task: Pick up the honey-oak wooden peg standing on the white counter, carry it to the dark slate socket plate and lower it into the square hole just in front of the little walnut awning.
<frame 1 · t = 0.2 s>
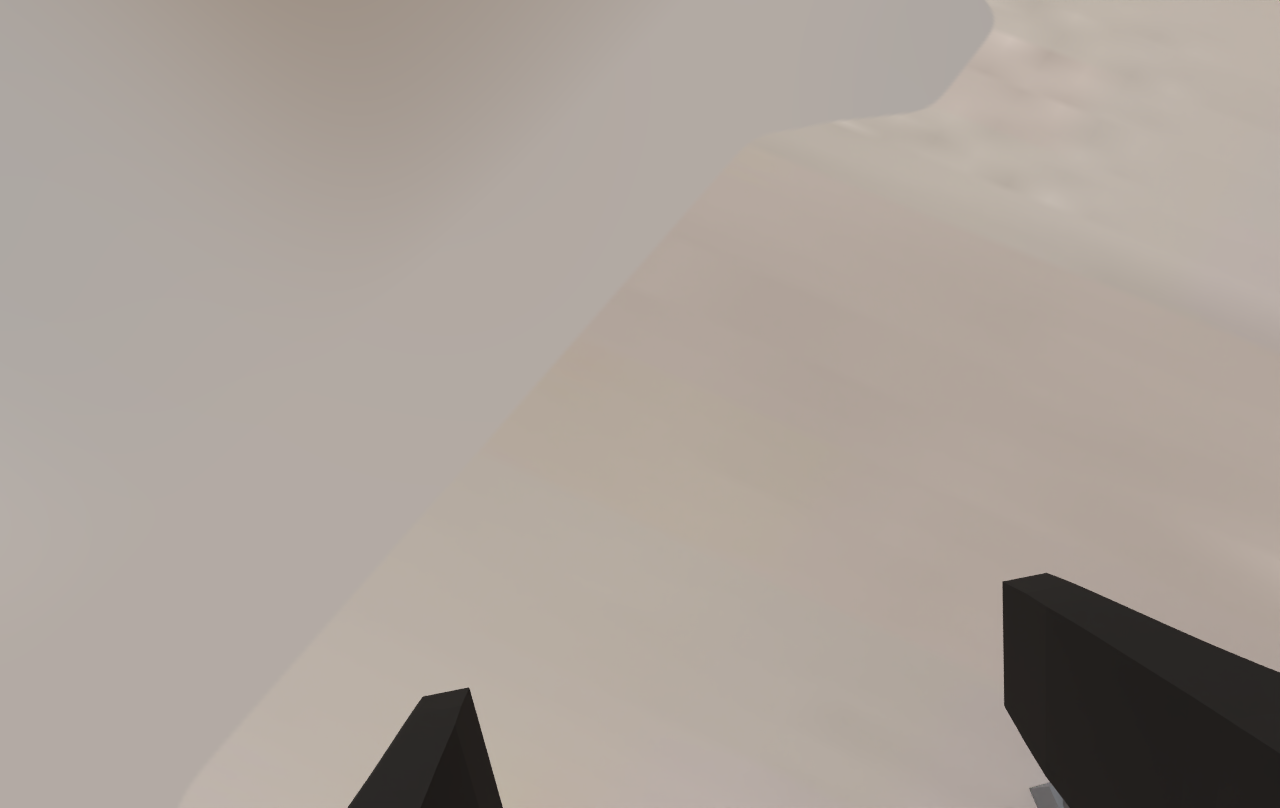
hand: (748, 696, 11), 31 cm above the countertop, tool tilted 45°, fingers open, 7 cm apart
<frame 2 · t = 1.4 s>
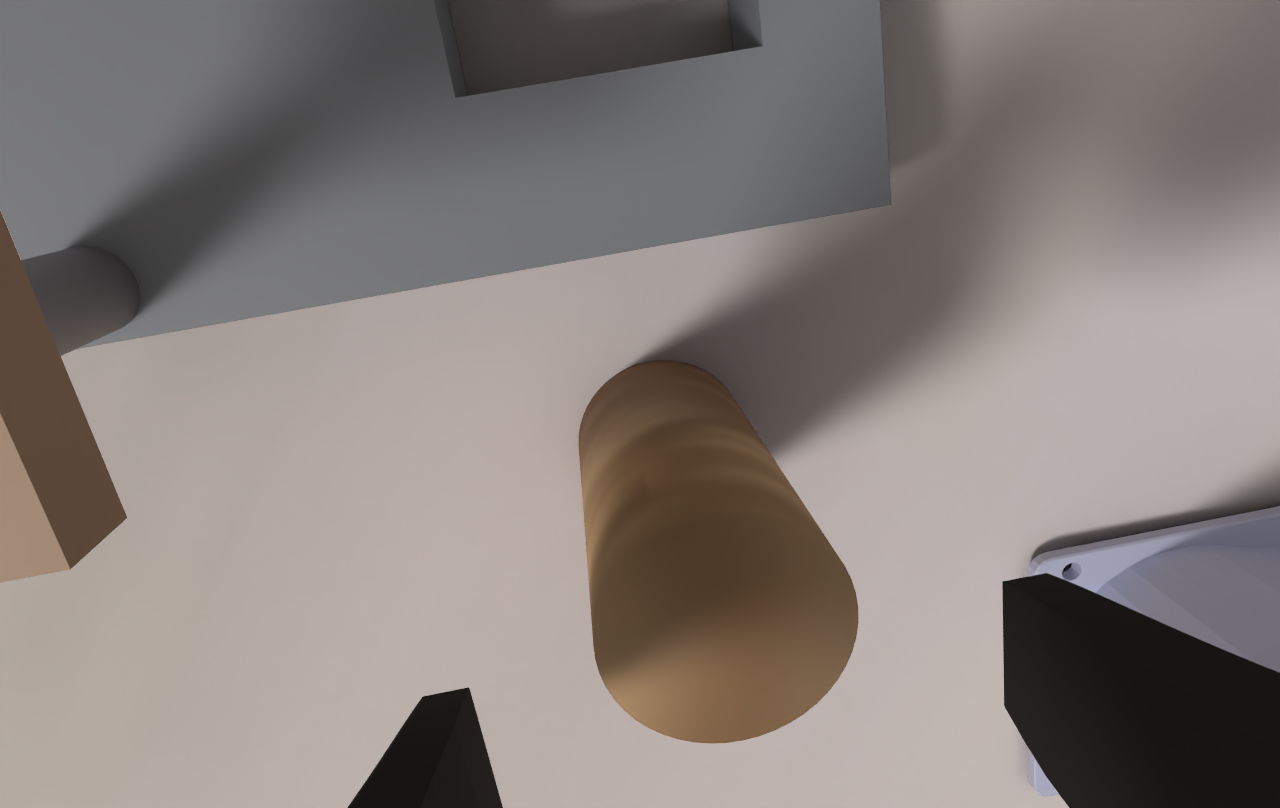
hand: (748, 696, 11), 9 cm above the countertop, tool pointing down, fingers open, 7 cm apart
peg: (661, 440, 20), on the countertop
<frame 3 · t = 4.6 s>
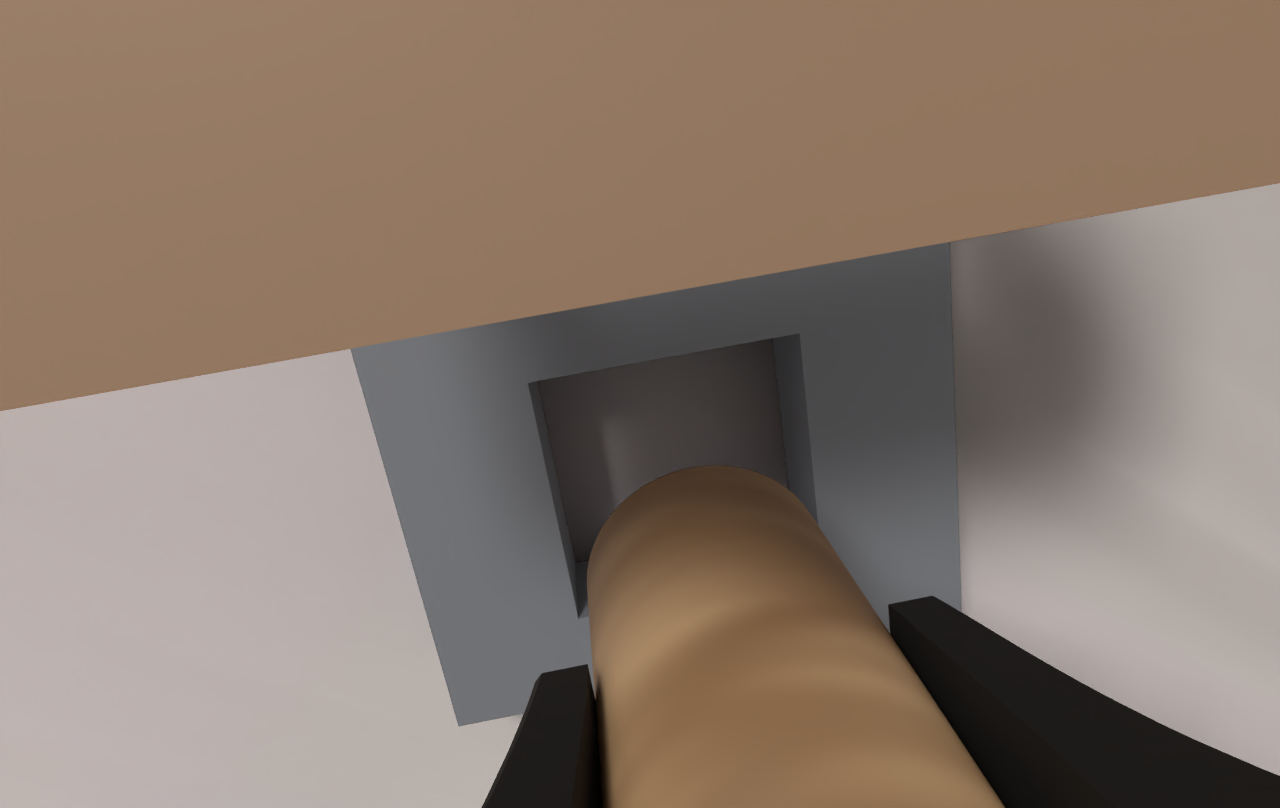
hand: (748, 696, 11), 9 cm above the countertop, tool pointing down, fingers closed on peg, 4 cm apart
peg: (707, 576, 14), point 7 cm above the countertop, touching gripper
socket plate: (649, 321, 19), on the countertop
when the fingers open (4 cm above the countertop, at t = 6.4 s): peg stays where it is, resting in socket plate.
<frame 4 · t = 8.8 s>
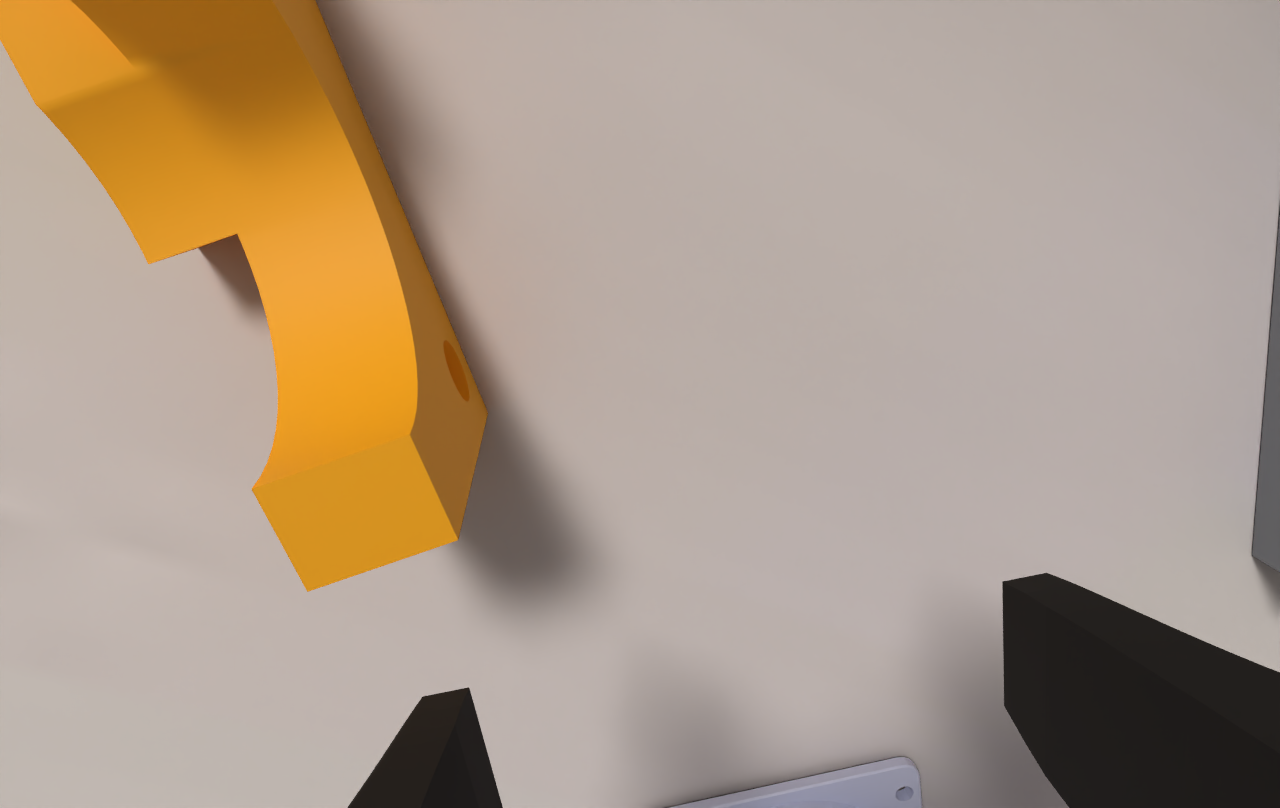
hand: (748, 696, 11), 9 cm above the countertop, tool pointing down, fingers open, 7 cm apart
pipe clamp: (290, 191, 18), on the countertop
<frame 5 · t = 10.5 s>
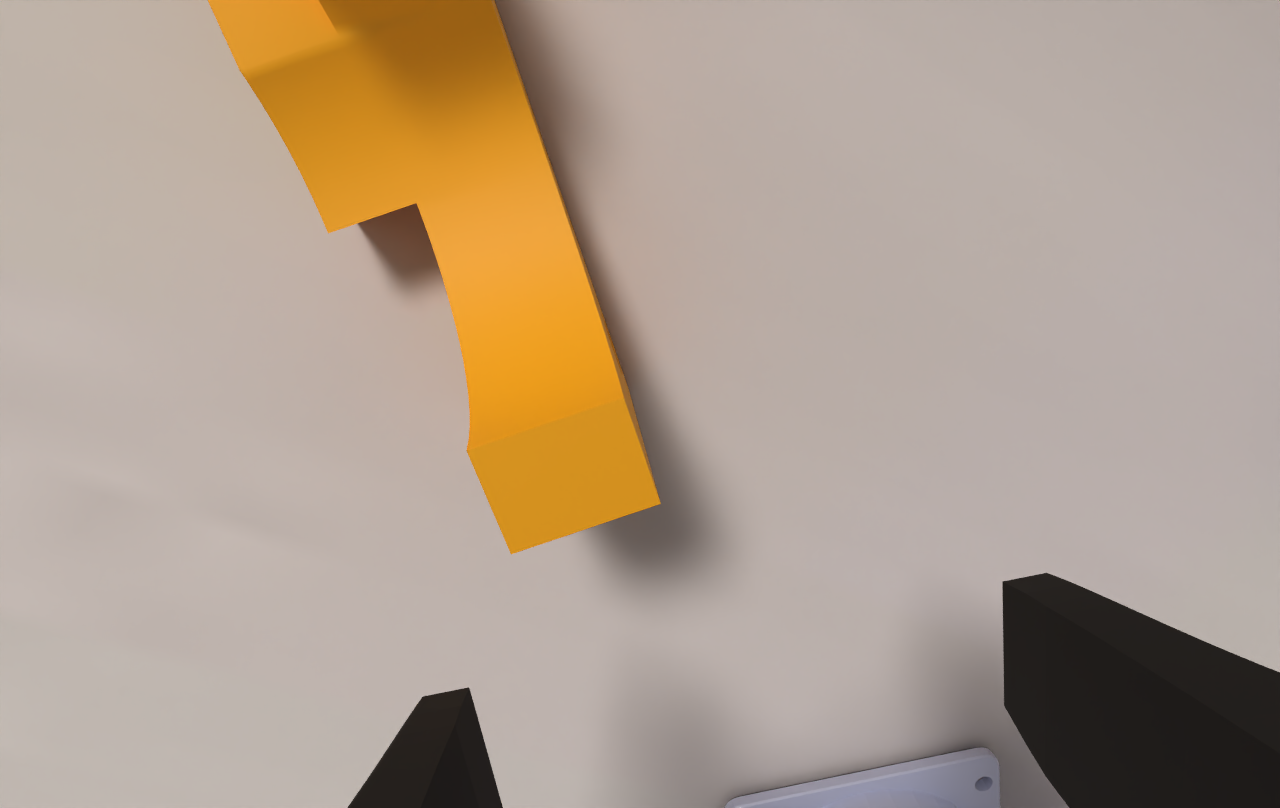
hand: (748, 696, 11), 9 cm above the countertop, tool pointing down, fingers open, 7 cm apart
pipe clamp: (445, 165, 18), on the countertop
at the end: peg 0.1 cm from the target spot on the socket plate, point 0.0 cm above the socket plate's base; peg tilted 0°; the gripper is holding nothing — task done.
